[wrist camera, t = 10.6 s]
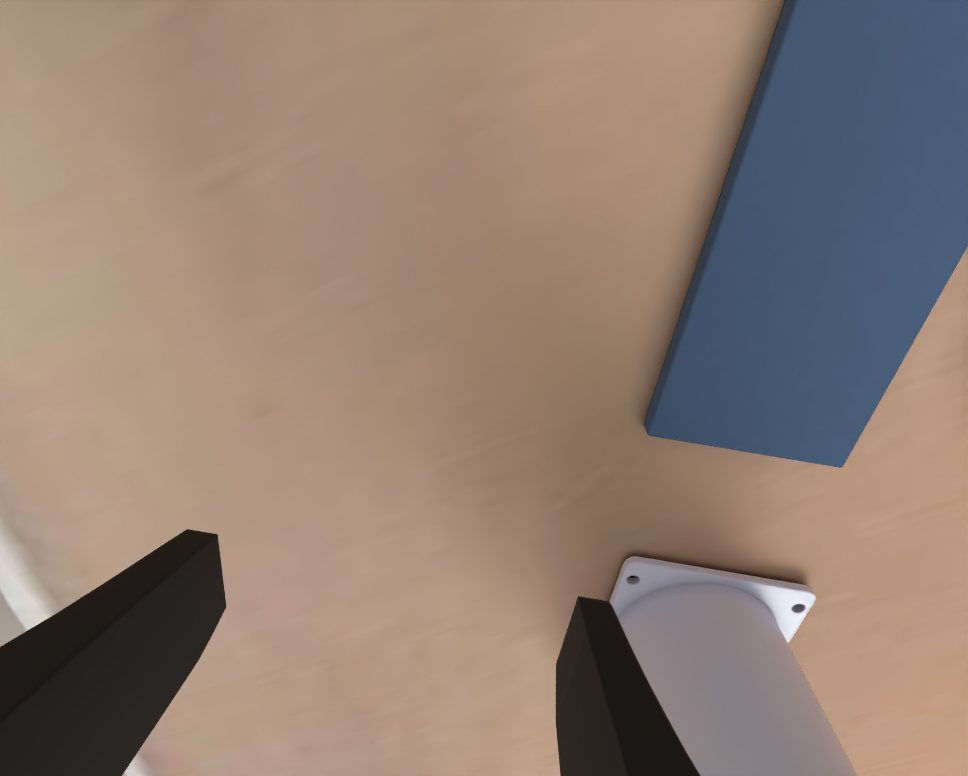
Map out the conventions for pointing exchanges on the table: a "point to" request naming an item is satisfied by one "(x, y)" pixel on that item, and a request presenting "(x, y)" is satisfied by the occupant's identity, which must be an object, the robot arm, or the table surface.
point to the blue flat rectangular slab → (825, 232)
